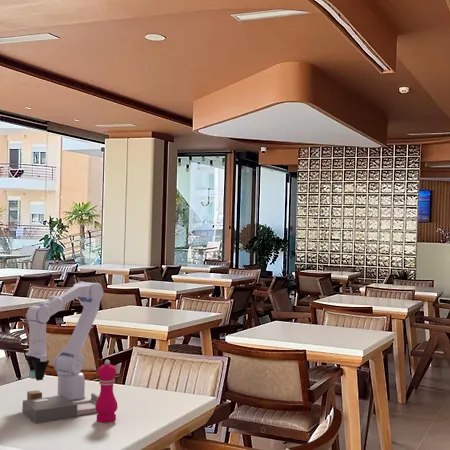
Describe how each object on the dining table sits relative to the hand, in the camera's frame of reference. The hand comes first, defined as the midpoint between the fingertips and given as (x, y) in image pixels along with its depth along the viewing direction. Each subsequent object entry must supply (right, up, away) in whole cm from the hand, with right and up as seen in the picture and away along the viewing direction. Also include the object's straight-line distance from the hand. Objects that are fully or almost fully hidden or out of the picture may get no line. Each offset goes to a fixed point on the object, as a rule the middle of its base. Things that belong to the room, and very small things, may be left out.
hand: (36, 378), depth 231 cm
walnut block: (-1, -10, 0) cm, 10 cm away
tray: (+17, -10, -3) cm, 20 cm away
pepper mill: (+27, -11, -15) cm, 33 cm away
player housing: (+7, -10, -10) cm, 16 cm away
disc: (0, 0, 0) cm, 0 cm away
